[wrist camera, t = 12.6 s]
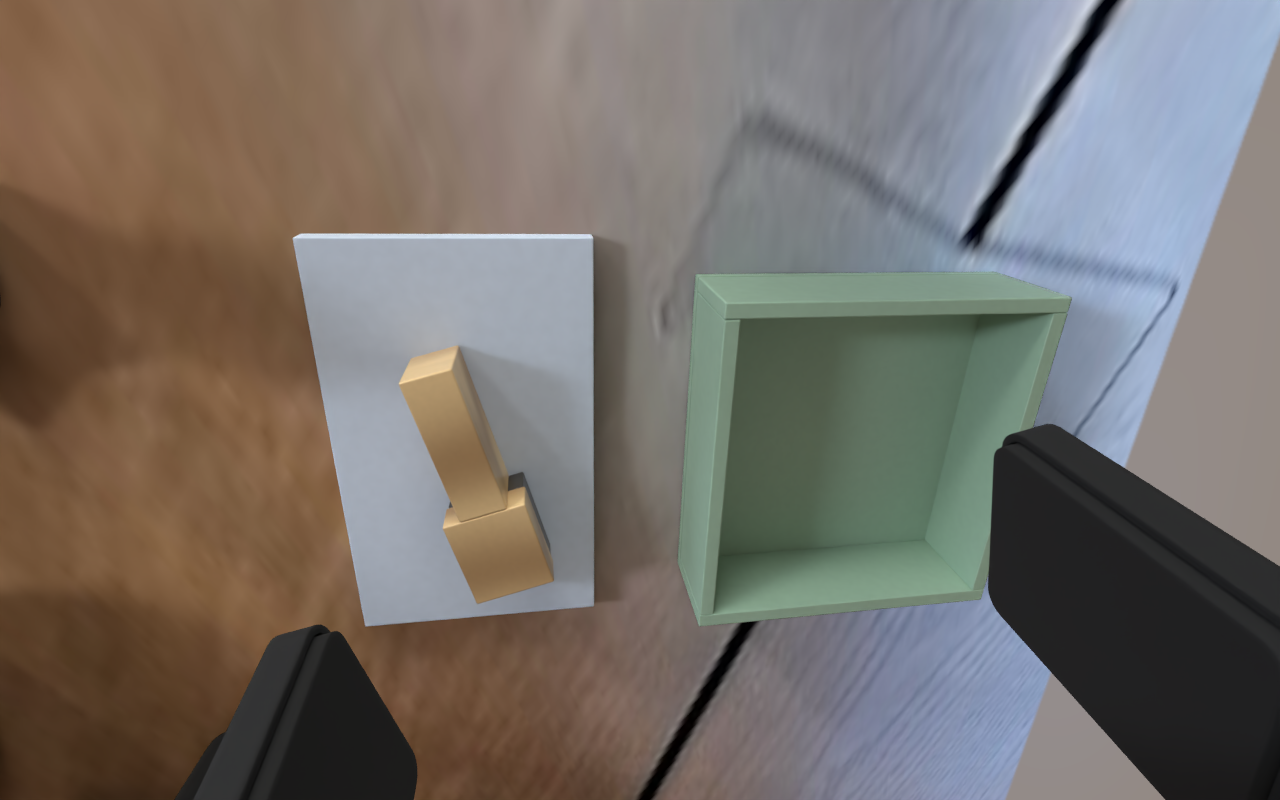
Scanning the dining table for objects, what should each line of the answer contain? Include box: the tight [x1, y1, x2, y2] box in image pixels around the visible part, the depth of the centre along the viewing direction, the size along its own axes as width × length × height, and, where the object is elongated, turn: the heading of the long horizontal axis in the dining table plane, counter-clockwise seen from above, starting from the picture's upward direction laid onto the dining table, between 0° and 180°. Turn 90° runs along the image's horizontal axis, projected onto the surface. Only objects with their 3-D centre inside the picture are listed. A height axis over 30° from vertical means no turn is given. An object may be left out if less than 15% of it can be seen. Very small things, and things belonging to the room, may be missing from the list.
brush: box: [399, 346, 554, 604], centre depth 29 cm, size 12×4×3 cm, turn 14°
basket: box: [678, 272, 1072, 626], centre depth 32 cm, size 16×15×5 cm
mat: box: [293, 234, 594, 626], centre depth 31 cm, size 20×12×1 cm, turn 179°
